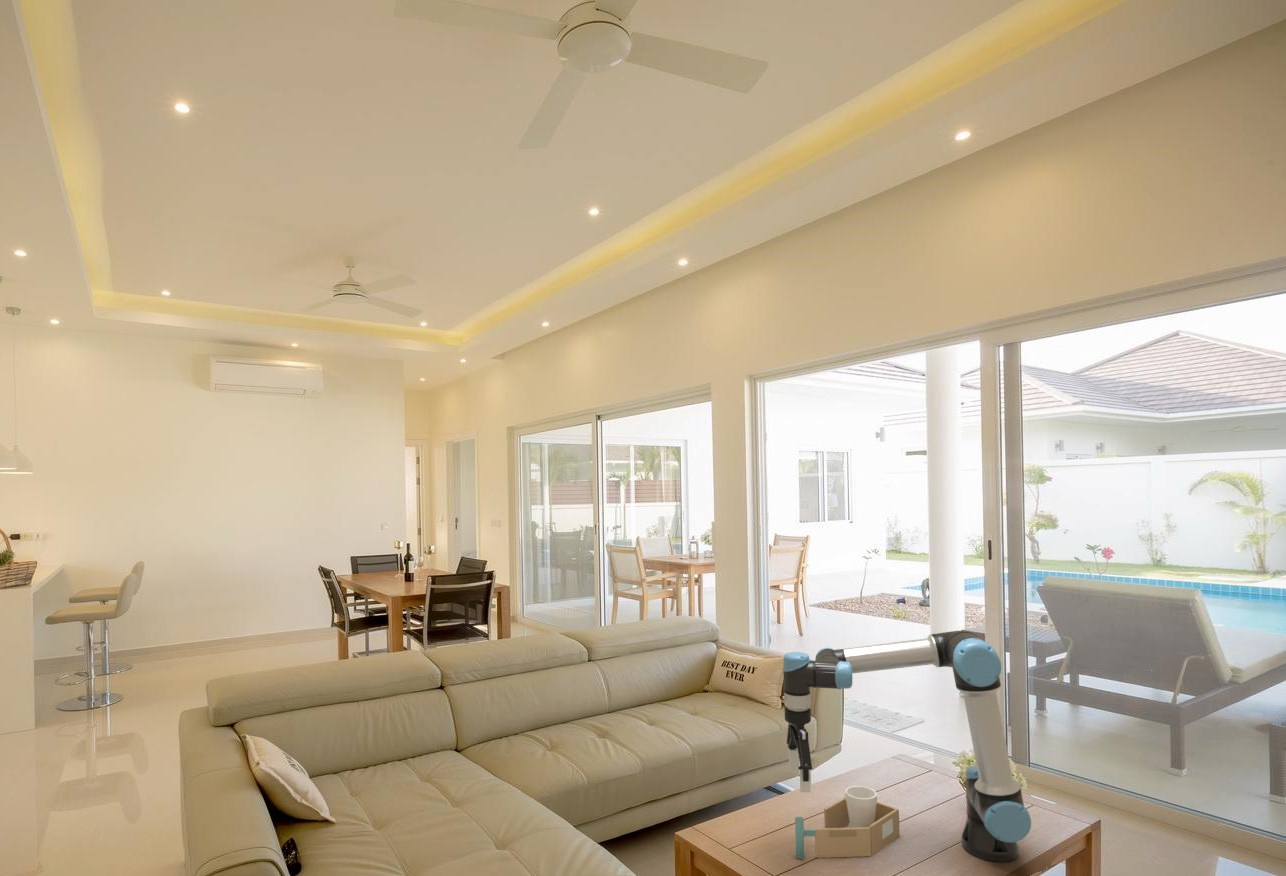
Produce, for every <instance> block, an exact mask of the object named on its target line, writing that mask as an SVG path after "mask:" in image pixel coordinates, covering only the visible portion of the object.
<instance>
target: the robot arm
mask: <svg viewBox="0 0 1286 876" xmlns="http://www.w3.org/2000/svg"><path fill="white" fill-rule="evenodd" d="M1001 662H1002V661H1001V659H1000V656H999V654H998V653H997V651H996V650H995V648H994V647H993V645H991V644H989V642H987V641H985V640H983V639H982V638H981V637H980V636H979V635H977V634H975V633H974V632H971V631H968V630H967V631H966V630H952V631H946V632H945V631H944V632H938V633H930V634H928V636H927V637H926V638H920V639H911V640H905V641H904V640H903V641H896V642H888V643H880V644H872V645H864V646H863V645H862V646H855V647H848V648H839V649H838V648H837V649H833V648H830V647H824V648H821V649H820V650H818V652H817V653H816V654H815V660H811V659H810V655H809V654H807V653H806V652H802V651H801V652H800V651H790V652H787V653H786V654H784V657H783V664H782V665H783V666H782V669H783V695H782V700H784V720H785V721H786V722H787V723H788V725H787V736H786V744H787V748H788V769H789V770H788V771H789V773H791V774H793V773H799V787H800V788H799V792H800V793H811V770H813V766H812V758H811V750H810V744H809V732H808V731H807V729H806V728H805V725H806V724H810V722H811V721H812V716H811V715H812V710H811V706H812V705H811V703H812V701H811V688H812V689H813V688H814V689H815V688H817V689H833V690H834V689H837V690H843V689H844V690H846V689H851V688H852V687H853V674H858V673H860V674H861V673H867V672H868V673H869V672H877V671H887V670H894V669H904V668H912V667H923V666H930V665H933V666H935V667H936V668H942V667H943V668H948V667H949V668H952V672H953V678H954V683H955V687H956V689H957V690H958V691H959V692H960V693H962V694H963V700H964V706H965V711H966V715H967V716H966V717H967V721H968V726H969V732H970V737H971V738H970V739H971V743H972V749H973V754H974V758H975V759H974V760H975V763H976V765H971V766H969V767H967V768H966V770H965V777H964V779H965V788H966V790H965V793H966V821H965V824H964V826H963V830H962V834H961V846H962V848H963V849H964V850H965V851H966V852H967V853H969V854H971V855H972V856H974V857H976V858H978V859H979V858H980V859H983V860H984V861H985V860H986V861H990V862H999V863H1005V862H1011V861H1014V860H1016V859H1017V858H1018V857H1019V855H1020V853H1019V852H1020V851H1019V843H1018V842H1020V841H1022V840H1024V839H1025V838H1026V837H1027V836H1028V834H1030V831H1031V828H1032V819H1031V814H1030V812H1029V811H1028V809H1027V808H1026V807H1025V803H1024V798H1023V793H1022V787H1021V785H1020V783H1019V782H1018V780H1016V779H1015V778H1013V774H1012V768H1011V763H1010V758H1009V753H1008V747H1007V743H1006V737H1005V732H1004V731H1005V730H1004V726H1003V721H1002V716H1001V709H1000V705H999V699H998V695H997V692H998V691H999V690H1000V688H1001V687H1002V684H1001V678H1000V675H1001V672H1002V663H1001Z"/></svg>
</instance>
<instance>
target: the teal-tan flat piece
mask: <svg viewBox="0 0 1286 876" xmlns="http://www.w3.org/2000/svg"><path fill="white" fill-rule="evenodd" d="M794 822H795V823H794V824H795V825H794V826H795V828H794V830H795V834H794V835H795V858H797V859H798V860H804V859H805V837H814V850H815V851H814V852H815V853H814V854H815V855H814V856H815V858H847V857H848V858H851V857H855V858H856V857H857V858H858V857H872V855H871V838H870V828H869V827H858V828H850V827H842V828H825V827H823V828H813V829H811V828H809V829H805V825H804V818H803V816H796V817H794Z"/></svg>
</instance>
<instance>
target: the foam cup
mask: <svg viewBox="0 0 1286 876" xmlns="http://www.w3.org/2000/svg"><path fill="white" fill-rule="evenodd" d="M844 792H845V793H844V794H845V795H844V796H845V798H846V802H847V809H848V815H849V822H850V823H849V826H850V827H849V828H858V827H869V826H870V825H871V824H873V823H874V822H875V813H876V804H877V802H878V795H877V791H875V790H874V789H872V788H870V787H867V786H862V785H852V786H848V787H847V788H845V791H844Z"/></svg>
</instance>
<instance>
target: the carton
mask: <svg viewBox="0 0 1286 876" xmlns="http://www.w3.org/2000/svg"><path fill="white" fill-rule="evenodd" d="M823 810H824V813H823V819H824V820H823V821H824V828H844V827H845V826H847V825H848V824H850V822H849V815H848V809H847V802H846V798H845V797H842V798H841V799H839V800H837V801H836V802H834V803H832V804H829V806H827V807H825V808H823ZM869 828H870V838H871V856H873V855H874V854H876V853H877V852H879V851H880V850H882V849H883V848H885V847H886V846H888V845H889V844H890V843H892V842H893V841H895V840H896V839H898V838H899V837H900V835H901V834H900V809H898V808H896V807H893V806H890V805H888V804H885V803H882V802H879V801H877V804H876V813H875V822H874V823H873V824H871V825H870V826H869Z"/></svg>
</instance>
